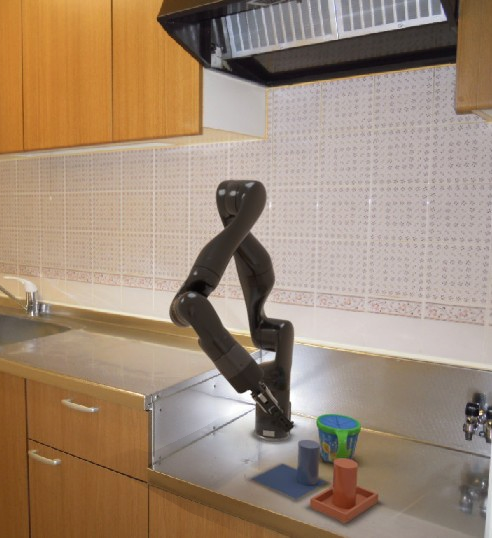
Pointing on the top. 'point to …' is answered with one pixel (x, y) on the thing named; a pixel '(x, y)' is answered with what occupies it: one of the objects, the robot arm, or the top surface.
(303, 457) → the blue cylinder
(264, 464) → the top surface
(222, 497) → the top surface
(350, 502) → the terracotta cylinder
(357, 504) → the terracotta tray
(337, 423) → the snack cup
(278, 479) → the blue mat
